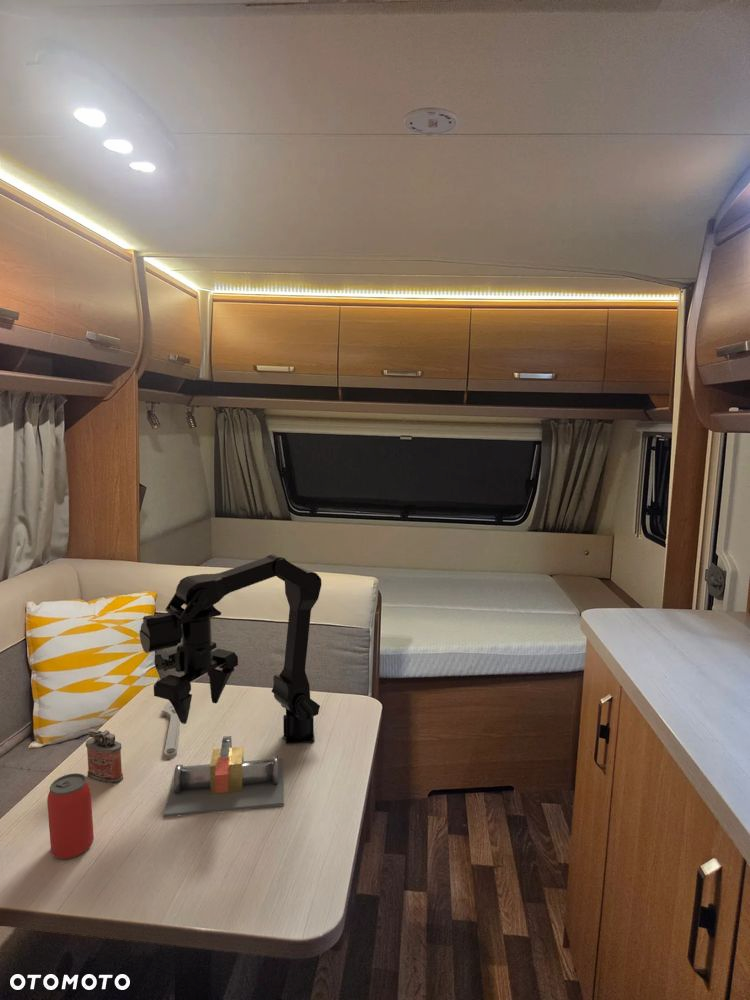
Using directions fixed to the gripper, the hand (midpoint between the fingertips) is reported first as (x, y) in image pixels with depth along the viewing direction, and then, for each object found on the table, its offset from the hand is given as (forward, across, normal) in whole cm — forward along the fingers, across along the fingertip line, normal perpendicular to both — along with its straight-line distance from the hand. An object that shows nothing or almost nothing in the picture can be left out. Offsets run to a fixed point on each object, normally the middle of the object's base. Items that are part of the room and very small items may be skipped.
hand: (199, 712), depth 121 cm
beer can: (+14, +26, -6) cm, 30 cm away
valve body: (+14, +1, +8) cm, 16 cm away
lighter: (+14, +10, -17) cm, 24 cm away
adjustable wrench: (+14, -11, -19) cm, 26 cm away
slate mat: (+14, +1, +8) cm, 16 cm away
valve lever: (+7, +5, +11) cm, 14 cm away
